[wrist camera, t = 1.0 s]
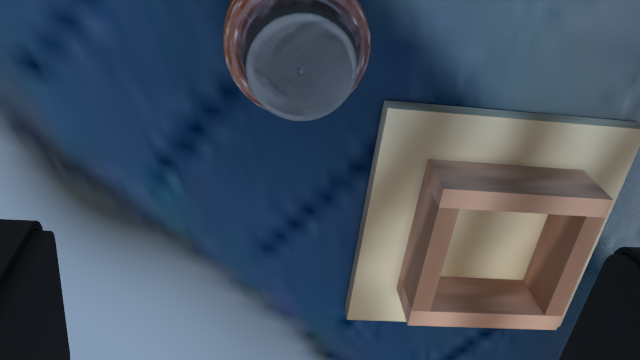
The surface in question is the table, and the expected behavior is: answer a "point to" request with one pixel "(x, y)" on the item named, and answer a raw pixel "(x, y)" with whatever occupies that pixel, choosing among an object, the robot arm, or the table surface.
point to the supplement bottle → (296, 53)
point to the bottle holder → (483, 214)
